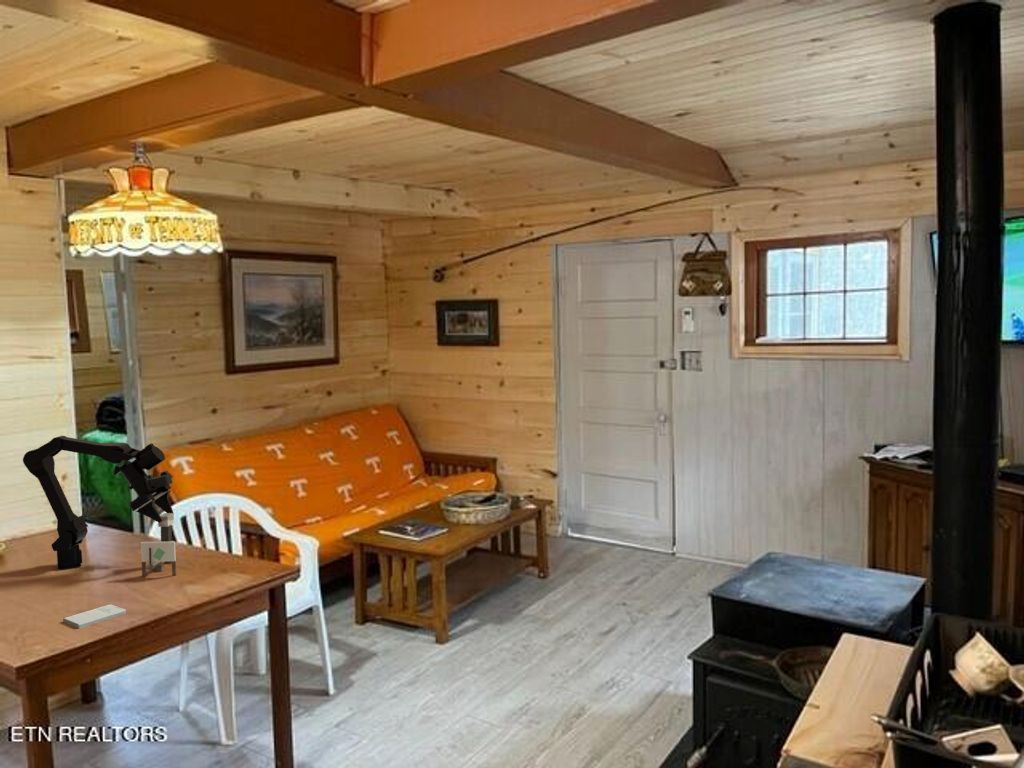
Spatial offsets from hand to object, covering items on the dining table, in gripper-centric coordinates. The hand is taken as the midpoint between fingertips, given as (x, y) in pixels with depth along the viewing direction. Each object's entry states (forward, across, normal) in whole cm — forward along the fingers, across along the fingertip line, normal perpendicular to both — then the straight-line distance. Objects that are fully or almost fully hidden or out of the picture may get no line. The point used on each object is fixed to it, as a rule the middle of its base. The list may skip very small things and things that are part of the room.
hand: (166, 518), depth 253 cm
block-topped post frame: (+11, -6, +7) cm, 14 cm away
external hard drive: (+12, -46, +10) cm, 48 cm away
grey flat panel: (+10, -12, +4) cm, 16 cm away
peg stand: (+14, -5, +7) cm, 16 cm away
